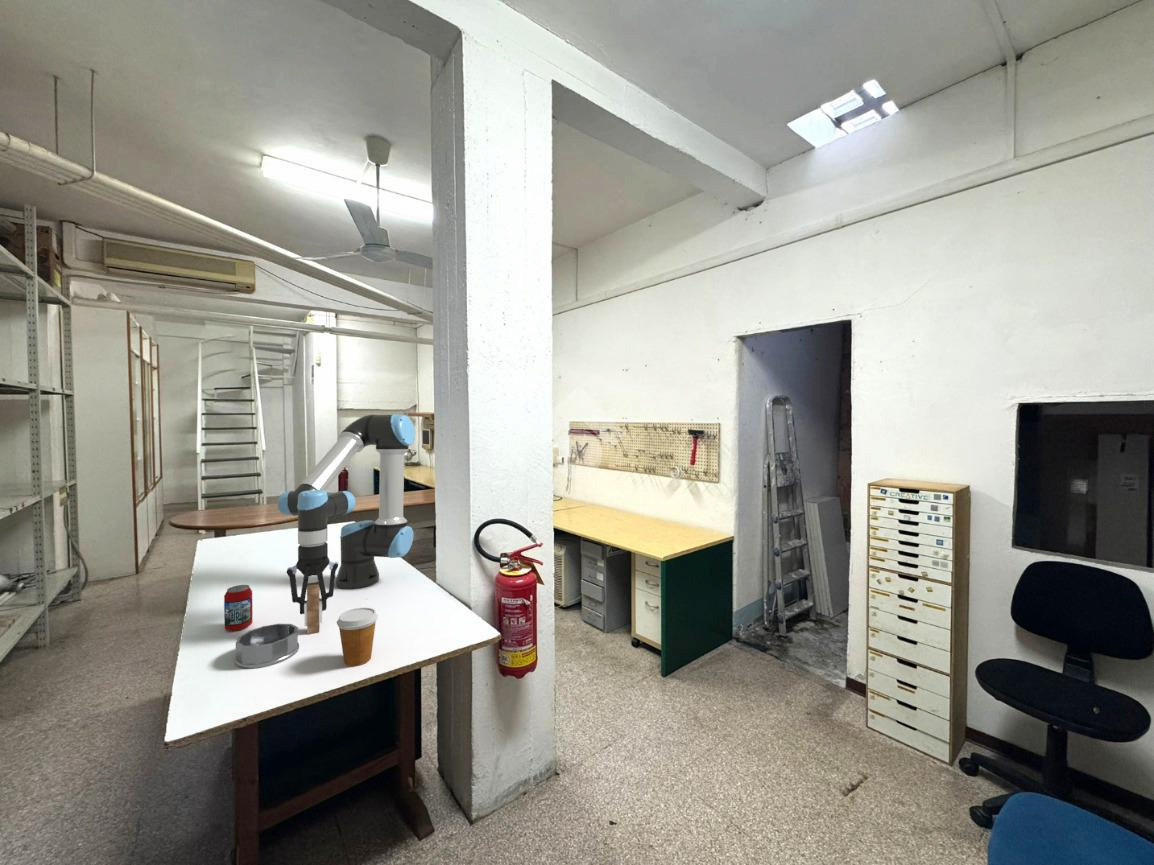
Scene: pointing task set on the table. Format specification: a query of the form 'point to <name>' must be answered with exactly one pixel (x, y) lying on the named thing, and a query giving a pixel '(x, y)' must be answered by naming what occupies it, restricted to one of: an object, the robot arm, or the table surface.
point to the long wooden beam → (313, 608)
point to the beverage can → (238, 608)
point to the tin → (266, 646)
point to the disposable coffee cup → (357, 635)
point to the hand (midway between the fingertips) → (313, 622)
